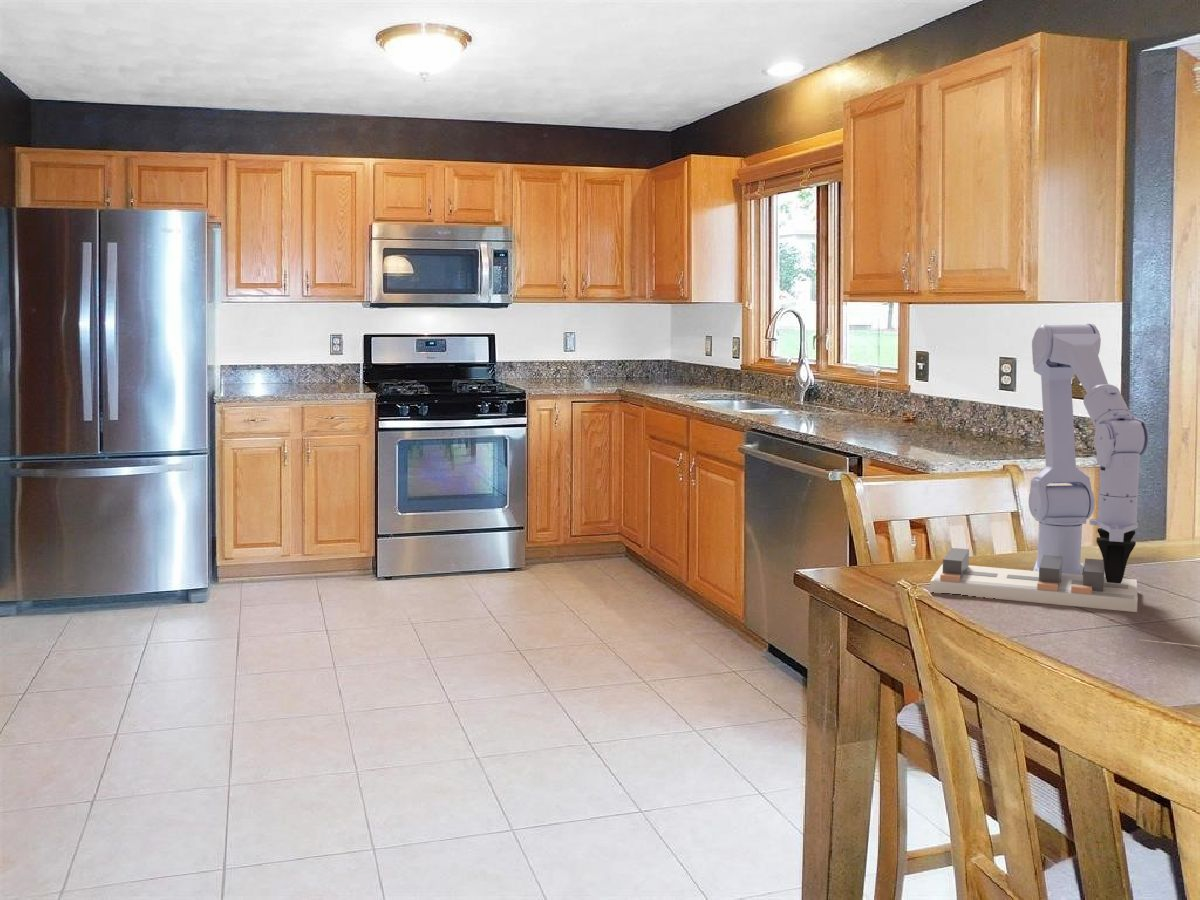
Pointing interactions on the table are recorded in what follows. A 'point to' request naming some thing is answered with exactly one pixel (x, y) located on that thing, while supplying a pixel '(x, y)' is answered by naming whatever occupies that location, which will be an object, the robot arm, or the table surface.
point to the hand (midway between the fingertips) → (1114, 577)
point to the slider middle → (1050, 569)
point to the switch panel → (1036, 588)
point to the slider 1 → (956, 561)
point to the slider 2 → (1094, 574)
